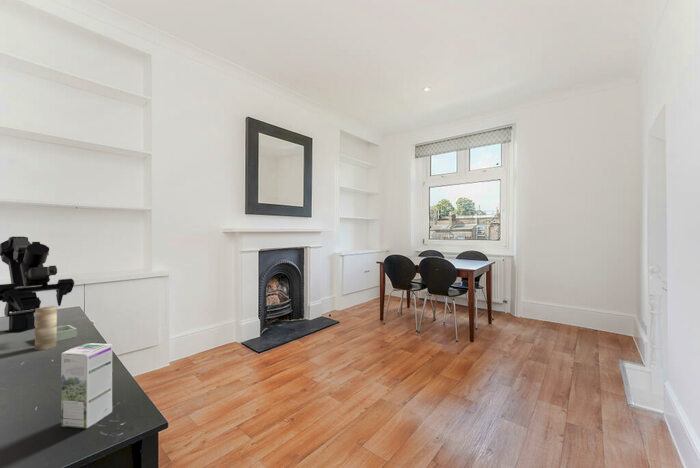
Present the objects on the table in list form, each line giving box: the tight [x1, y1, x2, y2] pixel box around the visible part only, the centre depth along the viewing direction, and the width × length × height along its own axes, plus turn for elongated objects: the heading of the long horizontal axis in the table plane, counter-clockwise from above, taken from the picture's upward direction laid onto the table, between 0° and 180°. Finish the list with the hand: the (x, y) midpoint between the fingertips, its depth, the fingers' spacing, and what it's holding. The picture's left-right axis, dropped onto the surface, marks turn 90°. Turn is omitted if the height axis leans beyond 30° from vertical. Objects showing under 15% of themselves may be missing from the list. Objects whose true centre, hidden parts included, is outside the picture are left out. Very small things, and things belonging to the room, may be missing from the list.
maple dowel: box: [34, 305, 58, 351], centre depth 98 cm, size 5×5×13 cm
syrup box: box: [60, 342, 113, 429], centre depth 59 cm, size 6×6×14 cm
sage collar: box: [56, 324, 78, 342], centre depth 106 cm, size 9×9×3 cm
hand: (41, 307), depth 101 cm, fingers open, 9 cm apart
